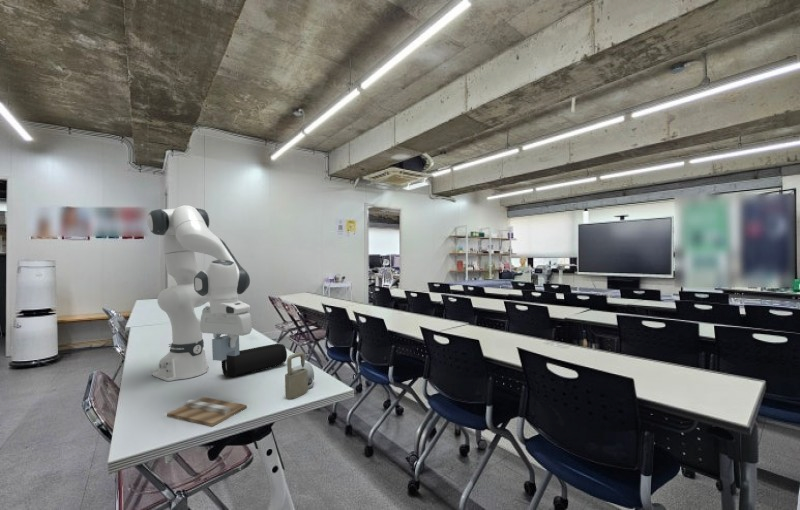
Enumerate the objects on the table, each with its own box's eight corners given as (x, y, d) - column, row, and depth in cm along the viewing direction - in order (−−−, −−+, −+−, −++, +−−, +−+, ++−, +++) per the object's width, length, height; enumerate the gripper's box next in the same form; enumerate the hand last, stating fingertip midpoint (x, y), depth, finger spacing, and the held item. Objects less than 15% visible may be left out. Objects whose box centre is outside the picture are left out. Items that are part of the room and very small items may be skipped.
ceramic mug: (286, 384, 135) (286, 365, 135) (306, 379, 140) (305, 360, 140) (299, 392, 127) (298, 372, 127) (319, 386, 133) (318, 366, 132)
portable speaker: (279, 361, 165) (278, 340, 165) (288, 366, 158) (287, 344, 157) (221, 375, 148) (220, 351, 148) (227, 381, 141) (227, 356, 140)
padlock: (309, 391, 127) (308, 351, 127) (291, 400, 120) (290, 357, 120) (302, 389, 129) (301, 349, 129) (284, 397, 123) (283, 355, 123)
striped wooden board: (167, 416, 110) (166, 408, 110) (203, 399, 122) (203, 392, 122) (212, 426, 103) (212, 418, 103) (246, 408, 115) (246, 400, 115)
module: (212, 359, 116) (212, 339, 116) (231, 353, 124) (230, 334, 124) (221, 360, 115) (220, 340, 115) (239, 354, 122) (238, 334, 122)
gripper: (194, 307, 120) (195, 347, 120) (239, 309, 113) (241, 351, 113) (210, 304, 126) (211, 342, 126) (254, 306, 119) (255, 346, 119)
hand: (226, 346), depth 119 cm, fingers closed on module, 4 cm apart
